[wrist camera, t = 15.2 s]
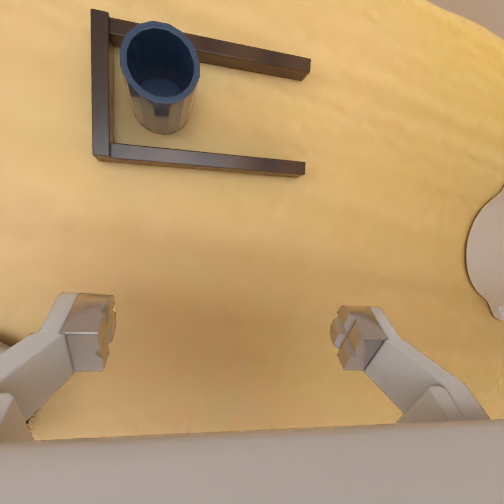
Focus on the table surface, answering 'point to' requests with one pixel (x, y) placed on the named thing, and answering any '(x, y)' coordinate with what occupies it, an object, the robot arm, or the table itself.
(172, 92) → the pen cup
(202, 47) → the walnut slide track
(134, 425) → the table surface
